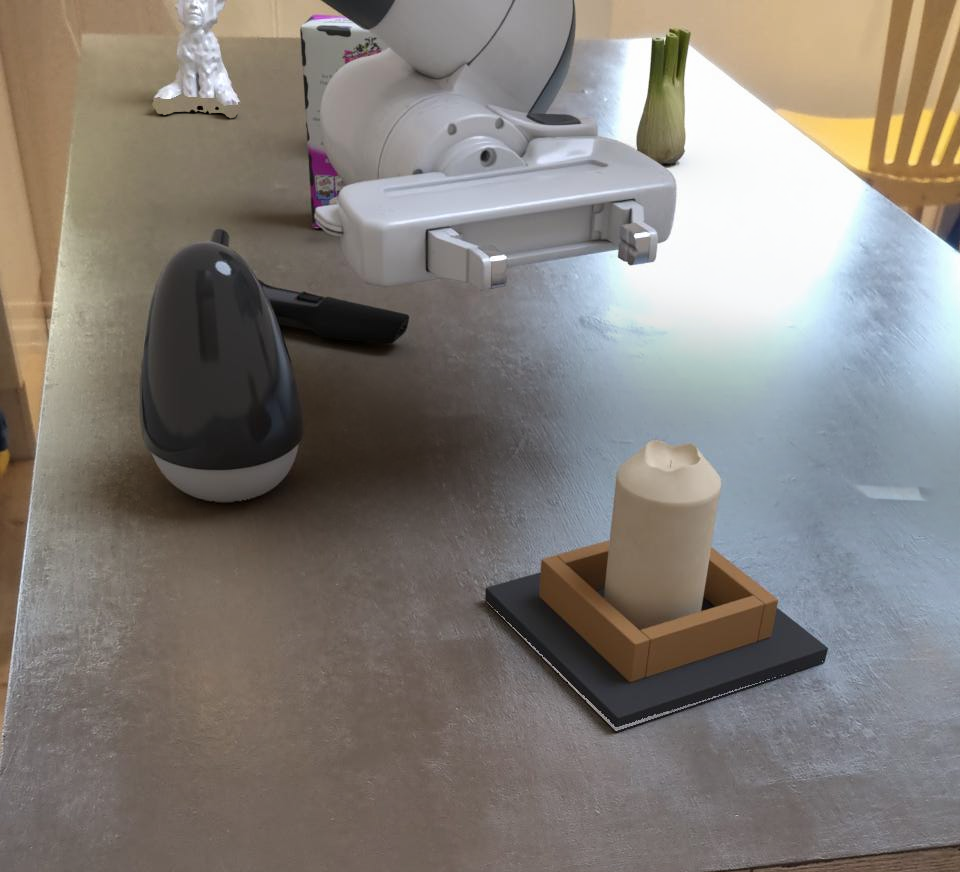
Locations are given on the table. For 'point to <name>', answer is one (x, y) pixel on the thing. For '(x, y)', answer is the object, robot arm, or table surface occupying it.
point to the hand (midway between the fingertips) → (572, 262)
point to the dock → (652, 637)
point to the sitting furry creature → (200, 55)
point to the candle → (661, 533)
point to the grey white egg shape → (217, 378)
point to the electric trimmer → (335, 316)
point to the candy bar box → (322, 56)
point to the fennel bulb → (665, 99)
